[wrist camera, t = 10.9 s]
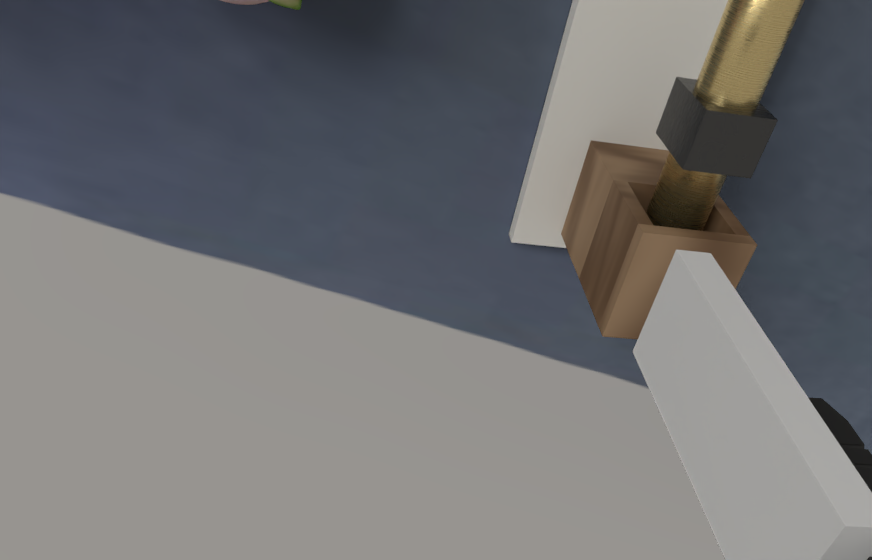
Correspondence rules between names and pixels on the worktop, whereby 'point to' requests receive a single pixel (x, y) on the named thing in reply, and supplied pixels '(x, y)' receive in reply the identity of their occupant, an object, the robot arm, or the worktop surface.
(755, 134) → the brass rod
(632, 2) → the base board
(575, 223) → the walnut socket
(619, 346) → the worktop surface
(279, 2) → the decorative fruit
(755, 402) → the robot arm
